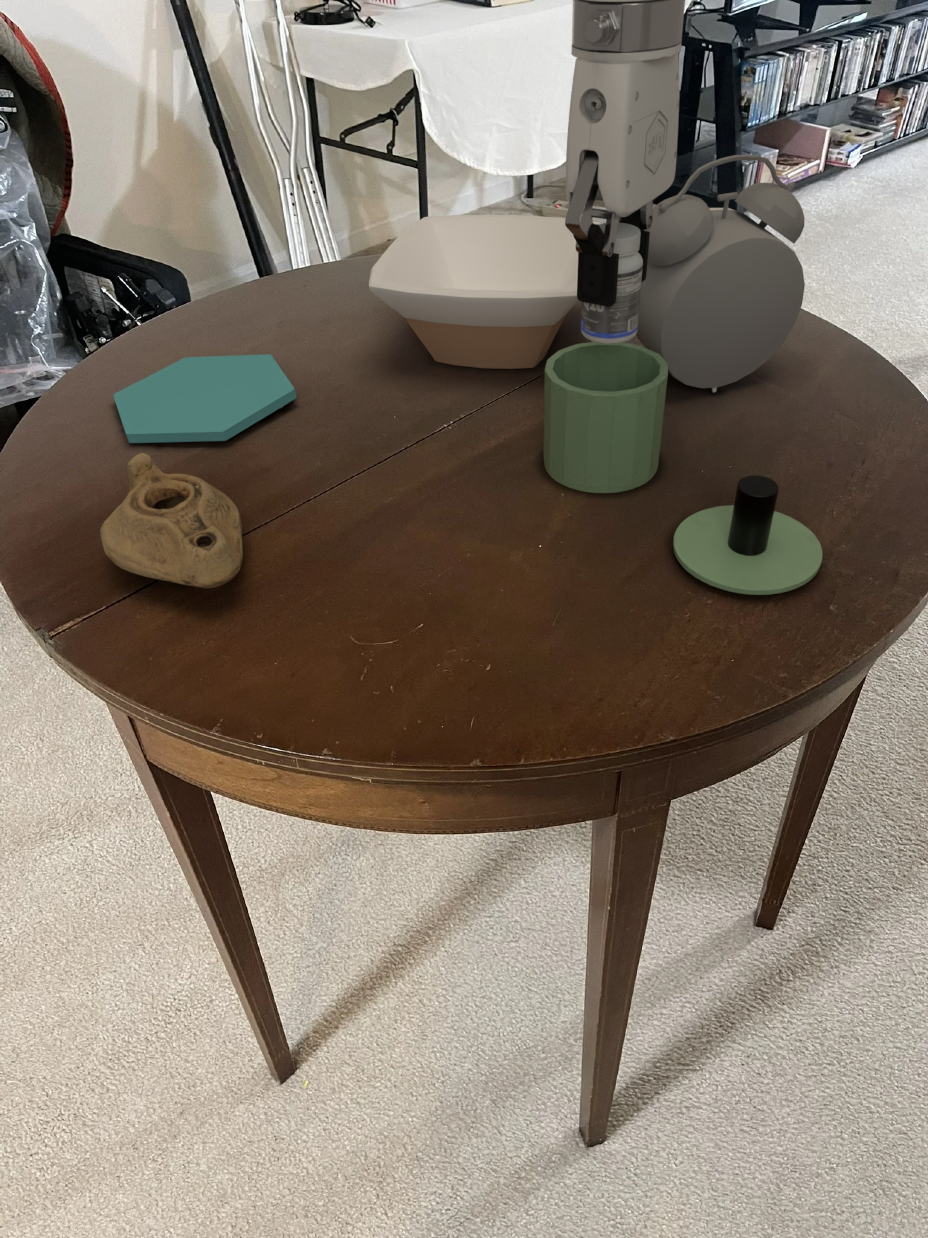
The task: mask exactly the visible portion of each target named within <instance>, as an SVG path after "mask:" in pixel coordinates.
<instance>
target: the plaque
mask: <svg viewBox="0 0 928 1238" xmlns="http://www.w3.org/2000/svg"><path fill="white" fill-rule="evenodd" d="M112 396H113V399H114V402H115V405H116V408H117V411H118V414H119V417H120V420H121V423H122V424H121V425H122V427H123V429H124V433H125V436H126V439H127V441H128V443H129V444H146V443H147V444H148V443H149V444H150V443H187V442H188V443H189V442H190V443H192V442H227V441H228V440H229V439H231V438H233V437H234V436H237V435H238V434H240V433H241V432H243V431H245V430H246V429H248V428H249V427H251V426H253V425H255V424H256V423H258V422H259V421H261V420H263V419H264V418H266V417H268V416H270V415H271V414H273V413H274V412H276V411H277V410H279V409H283V407H284V406H286V405H288V404H289V403H291V402H292V401H294V400H296V399H297V397H298V396H297V392H296V388H295V387H294V385H293V384H292V382H291V380H290V379H289V378H288V376H287V375H286V373H284V371H283V370H282V368H281V367H280V366H279V364H278V363H277V361H276V359H275V357H273V355H272V354H270V353H267V354H266V353H265V354H241V355H239V354H238V355H237V354H236V355H213V356H212V355H211V356H210V355H209V356H185V357H183V358H181V359H179V360H177V361H175V362H174V363H171V364H169V365H168V366H165V367H164V368H162V369H160V370H157V371H155V372H154V373H152V374H150V375H148V376H146V377H144V378H142V379H140V380H139V381H136V382H133V384H131V385H129V386H126V387H124V388H123V389H120V390H118V391H117V392H114V393H113V394H112Z"/></svg>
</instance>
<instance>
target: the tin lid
mask: <svg viewBox="0 0 928 1238" xmlns="http://www.w3.org/2000/svg"><path fill="white" fill-rule="evenodd" d="M779 490H780V487H779V484H778V483H777V482H776V481H775V480H774V479H772V478H771V477H768V476H764V475H755V474H754V475H746V476H744V477H742V478H740V479H739V480H738V482H737V485H736V490H735V498H734V503H733V504H731V505H718V506H713V507H709V508H705V509H702V510H699V511H697V512H695V513H693V514H691V515H689V516H688V517H686V518H685V519H684V520H682V522H680V524H679V525H678V526H677V527H676V530H675V531H674V535H673V541H672V550H673V553H674V556H675V558H676V560H677V561H678V563H679V564H680V565H681V566H682V568H683V569H684V570H685V571H686V572H687V573H688V574H690V575H691V576H693V577H694V578H695V579H698V580H699V581H701V582H702V583H705V584H707V585H709V586H711V587H713V588H717V589H718V590H719V589H720V590H722V591H727V592H731V593H736V594H740V595H741V594H742V595H750V596H751V595H752V596H753V595H754V596H764V595H765V596H767V595H776V594H777V595H778V594H783V593H787V592H790V591H793V590H796V589H798V588H800V587H802V586H804V585H807V583H809V582H810V581H811V580H813V578H814V577H816V576H817V574H818V573H819V571H820V569H821V566H822V562H823V556H824V554H823V549H822V545H821V543H820V541H819V539H818V538H817V536H816V534H815V533H813V532H812V530H811V529H809V528H808V527H807V526H806V525H804V524H803V523H801V521H798V520H797V519H795V518H793V517H791V516H788V515H787V514H784V513H782V512H778V511H775V510H776V504H777V500H778V495H779Z"/></svg>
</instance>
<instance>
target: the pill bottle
mask: <svg viewBox="0 0 928 1238" xmlns="http://www.w3.org/2000/svg"><path fill="white" fill-rule="evenodd" d="M598 225H599V226H600V228H601V230H602V231H603V233H604V231H605V225H606V222H602V224H598ZM640 235H641V232H640V229H639V228H638V227H636V226H634V225H631V224H626V223H619V225H618V231H617V237H616V243H615V249H614V253H617V254H619V263H618V280H617V296H616V303H615V304H614V305H612V306H611V307H607V306H601V305H596V304H591V303H586V302H581V313H580V332H581V335H582V336H583V337H584V339H587V340H588V341H589V342H596V343H602V344H615V343H621V342H624V343H626V342H629V341H630V340H632V339H633V338H634V337H636V333H637V328H638V317H639V307H640V292H641V280H642V269H643V259H642V257H641V255H640V254H639V253H638V251H639V246H640Z"/></svg>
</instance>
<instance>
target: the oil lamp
mask: <svg viewBox="0 0 928 1238" xmlns="http://www.w3.org/2000/svg"><path fill="white" fill-rule="evenodd" d="M126 469H127V475H128V479H129V480H128V481H129V485H128V487H129V489H128V491H129V492H128V493H127V494H126V497H125V498H124V499H123V501H122V502H121V503H120V504H119V505H118V506H117V507H116V508H115V509H114V510H113V511H112V512H111V514H110V515H109V516H108V517H107V518H106V520H105V519H104V522H103V523H102V525H101V527H100V531H99V533H100V539H101V545H102V548H103V551H104V554H105V555H106V556H107V558H109V560H111V561H112V563H114V565H116V566H117V567H118V568H120V569H122V570H124V571H127V572H130V573H132V574H134V575H138V576H142V577H145V578H150V579H154V580H158V581H164V582H170V583H174V584H179V585H184V586H189V587H195V588H200V589H215V588H218V587H221V586H223V585H225V584H227V583H229V582H231V580H233V579H234V578H235V577H236V576H237V575H238V573H239V572H240V570H241V566H242V563H243V558H244V557H243V554H244V553H243V551H244V548H243V545H244V543H243V542H244V541H243V525H242V516H241V514H240V511H239V509H238V507H237V505H236V504H235V503H234V501H232V499H231V498H230V497H229V496H228V495H226V494H225V493H224V492H222V491H221V490H219V489H217V488H216V487H215V486H213V485H212V484H210V483H208V482H206V481H205V480H204V479H203V478H200V477H198V476H195V475H191V474H185V473H165V472H163V471H162V470H161V469H160V468H159V467H158V466H157V464H156V462H154V461H153V459H152V458H151V456H150V455H149V454H147V453H144V452H140V453H138V454H137V455H135V456H133V457H132V458H131V459H130V460H129V461H128V462H127V465H126Z"/></svg>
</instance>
